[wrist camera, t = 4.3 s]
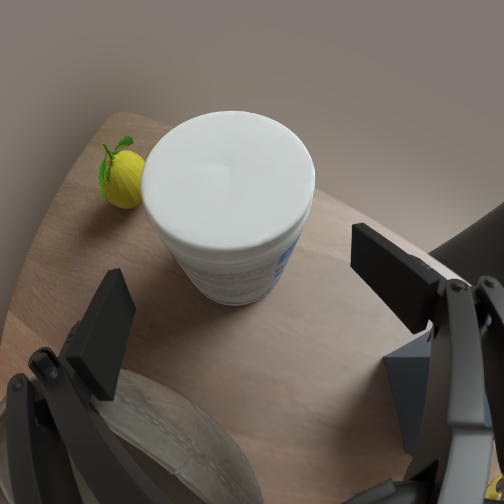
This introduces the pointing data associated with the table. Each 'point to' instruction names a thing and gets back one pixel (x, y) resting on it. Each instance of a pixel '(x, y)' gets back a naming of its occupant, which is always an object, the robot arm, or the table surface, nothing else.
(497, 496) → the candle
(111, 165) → the lemon
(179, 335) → the table surface
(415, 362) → the blue storage bin
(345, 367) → the table surface
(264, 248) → the supplement tub
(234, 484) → the bowl
